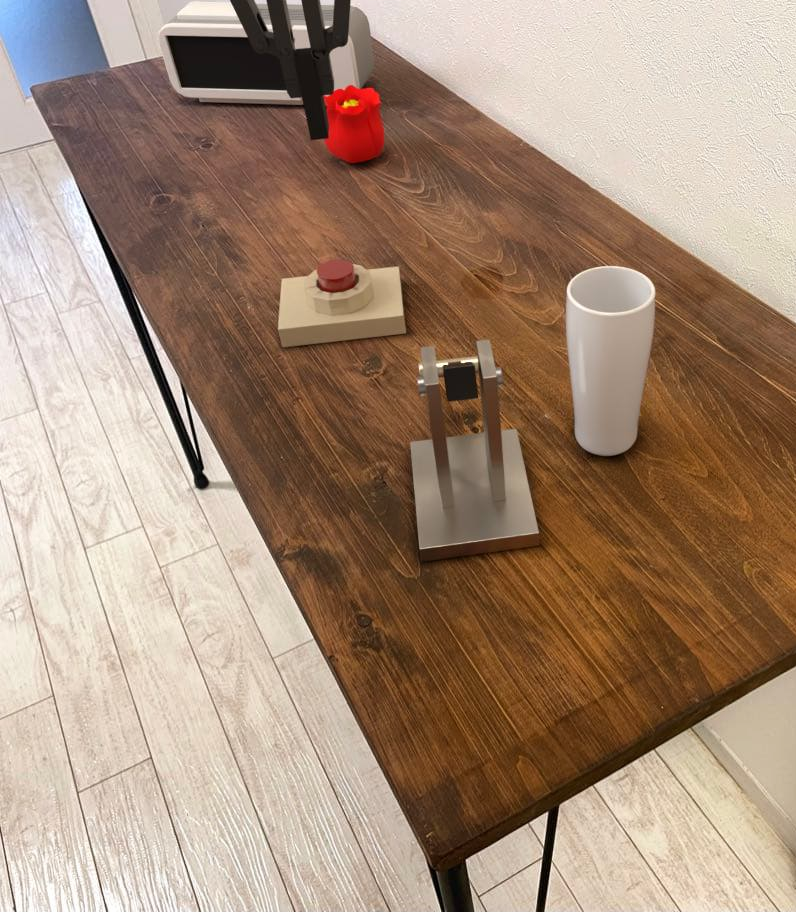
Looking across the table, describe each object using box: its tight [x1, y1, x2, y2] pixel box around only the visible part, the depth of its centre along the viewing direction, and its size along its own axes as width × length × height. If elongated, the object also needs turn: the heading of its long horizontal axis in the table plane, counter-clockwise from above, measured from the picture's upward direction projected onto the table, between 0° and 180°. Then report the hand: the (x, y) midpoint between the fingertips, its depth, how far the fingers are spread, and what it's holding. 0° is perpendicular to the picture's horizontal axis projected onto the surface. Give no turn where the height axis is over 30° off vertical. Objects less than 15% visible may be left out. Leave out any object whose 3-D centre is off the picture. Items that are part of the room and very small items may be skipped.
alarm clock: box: [157, 0, 376, 107], centre depth 130 cm, size 27×9×12 cm, turn 83°
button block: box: [277, 263, 407, 348], centre depth 92 cm, size 12×9×4 cm
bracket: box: [409, 338, 541, 563], centre depth 69 cm, size 12×9×14 cm
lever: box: [417, 355, 479, 403], centre depth 71 cm, size 14×6×2 cm
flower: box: [323, 85, 385, 164], centre depth 116 cm, size 8×8×8 cm
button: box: [316, 258, 357, 293], centre depth 90 cm, size 4×4×2 cm
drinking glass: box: [565, 265, 656, 457], centre depth 74 cm, size 7×7×15 cm
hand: (319, 132), depth 78 cm, fingers closed
